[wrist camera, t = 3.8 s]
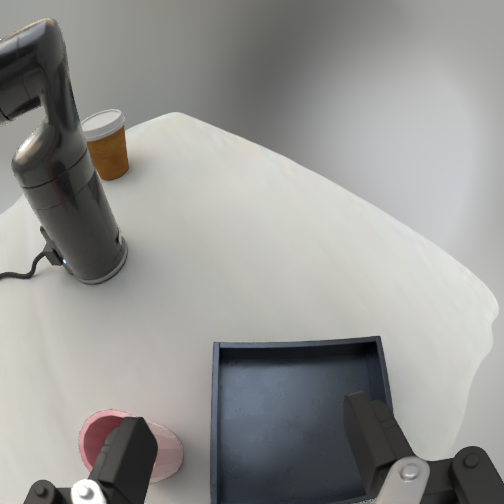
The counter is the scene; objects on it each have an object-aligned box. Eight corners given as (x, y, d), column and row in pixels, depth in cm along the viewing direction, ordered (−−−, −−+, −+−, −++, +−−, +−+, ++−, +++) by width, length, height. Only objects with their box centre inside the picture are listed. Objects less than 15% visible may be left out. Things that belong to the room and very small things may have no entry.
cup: (124, 472, 21) (76, 476, 13) (127, 419, 25) (82, 402, 17) (183, 483, 21) (155, 496, 13) (184, 427, 25) (157, 416, 17)
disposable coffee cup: (137, 154, 56) (126, 104, 46) (134, 179, 50) (120, 123, 41) (97, 163, 54) (82, 116, 45) (89, 190, 48) (69, 137, 39)
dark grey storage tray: (215, 505, 20) (210, 514, 16) (217, 355, 30) (213, 342, 27) (381, 487, 20) (399, 490, 17) (366, 349, 31) (380, 335, 28)
